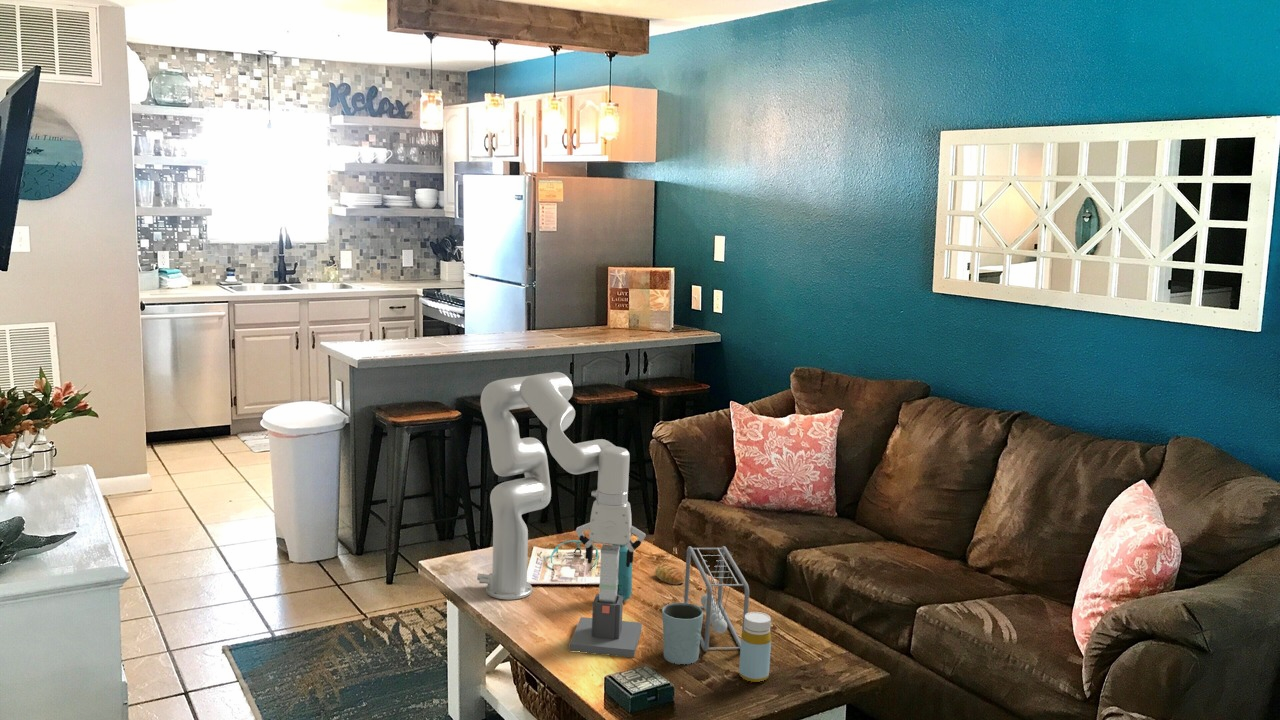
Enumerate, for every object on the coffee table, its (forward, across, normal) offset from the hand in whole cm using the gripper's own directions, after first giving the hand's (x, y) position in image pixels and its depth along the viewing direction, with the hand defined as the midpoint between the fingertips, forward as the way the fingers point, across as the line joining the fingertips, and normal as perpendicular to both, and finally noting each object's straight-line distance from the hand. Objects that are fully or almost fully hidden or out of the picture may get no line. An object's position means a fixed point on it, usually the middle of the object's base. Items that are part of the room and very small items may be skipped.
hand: (609, 563), depth 261 cm
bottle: (+20, +37, -12) cm, 44 cm away
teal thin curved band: (+21, -17, +50) cm, 57 cm away
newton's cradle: (+21, +26, +13) cm, 36 cm away
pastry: (+21, +13, +44) cm, 51 cm away
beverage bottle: (+21, 0, +25) cm, 32 cm away
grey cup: (+20, +19, -5) cm, 29 cm away
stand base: (+20, 0, 0) cm, 20 cm away
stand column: (+11, 0, 0) cm, 11 cm away
